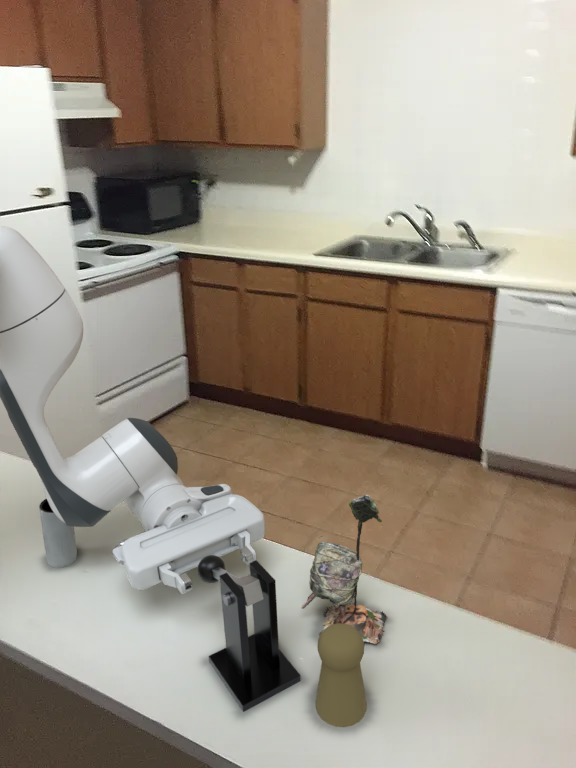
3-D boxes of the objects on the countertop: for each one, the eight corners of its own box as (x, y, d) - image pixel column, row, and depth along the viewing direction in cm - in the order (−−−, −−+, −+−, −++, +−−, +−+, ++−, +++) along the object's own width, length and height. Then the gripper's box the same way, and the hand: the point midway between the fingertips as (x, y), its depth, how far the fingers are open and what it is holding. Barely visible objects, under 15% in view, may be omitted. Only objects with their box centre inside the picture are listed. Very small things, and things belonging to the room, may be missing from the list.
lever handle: (197, 584, 88) (190, 558, 88) (221, 573, 90) (215, 548, 90) (243, 614, 76) (235, 584, 75) (270, 601, 78) (263, 572, 77)
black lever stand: (209, 662, 85) (198, 569, 79) (263, 636, 88) (257, 545, 82) (243, 713, 78) (235, 615, 72) (300, 682, 81) (297, 586, 75)
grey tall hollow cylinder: (83, 555, 105) (77, 500, 101) (61, 572, 102) (54, 515, 97) (62, 546, 107) (55, 492, 103) (40, 562, 103) (32, 506, 99)
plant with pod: (318, 594, 95) (316, 474, 87) (394, 618, 91) (399, 493, 82) (293, 632, 89) (288, 506, 81) (373, 661, 84) (376, 530, 76)
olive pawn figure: (370, 690, 80) (372, 619, 75) (362, 733, 75) (363, 660, 70) (321, 680, 82) (320, 610, 77) (309, 722, 76) (307, 650, 72)
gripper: (104, 529, 91) (141, 586, 81) (235, 479, 101) (284, 525, 90) (111, 565, 94) (148, 626, 83) (239, 513, 104) (286, 562, 93)
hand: (220, 573), depth 87 cm, fingers open, 8 cm apart
